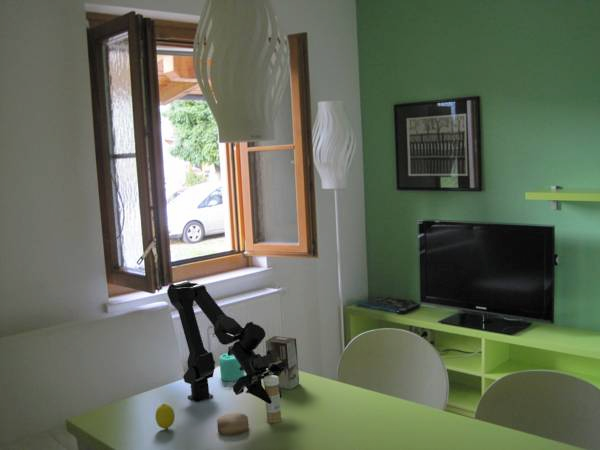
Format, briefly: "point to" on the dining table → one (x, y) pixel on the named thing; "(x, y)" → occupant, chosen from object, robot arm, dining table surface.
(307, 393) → the dining table surface
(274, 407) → the sprinkles bottle
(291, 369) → the coffee box
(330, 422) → the dining table surface
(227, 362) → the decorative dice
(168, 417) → the lemon
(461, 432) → the dining table surface
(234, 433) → the walnut base
